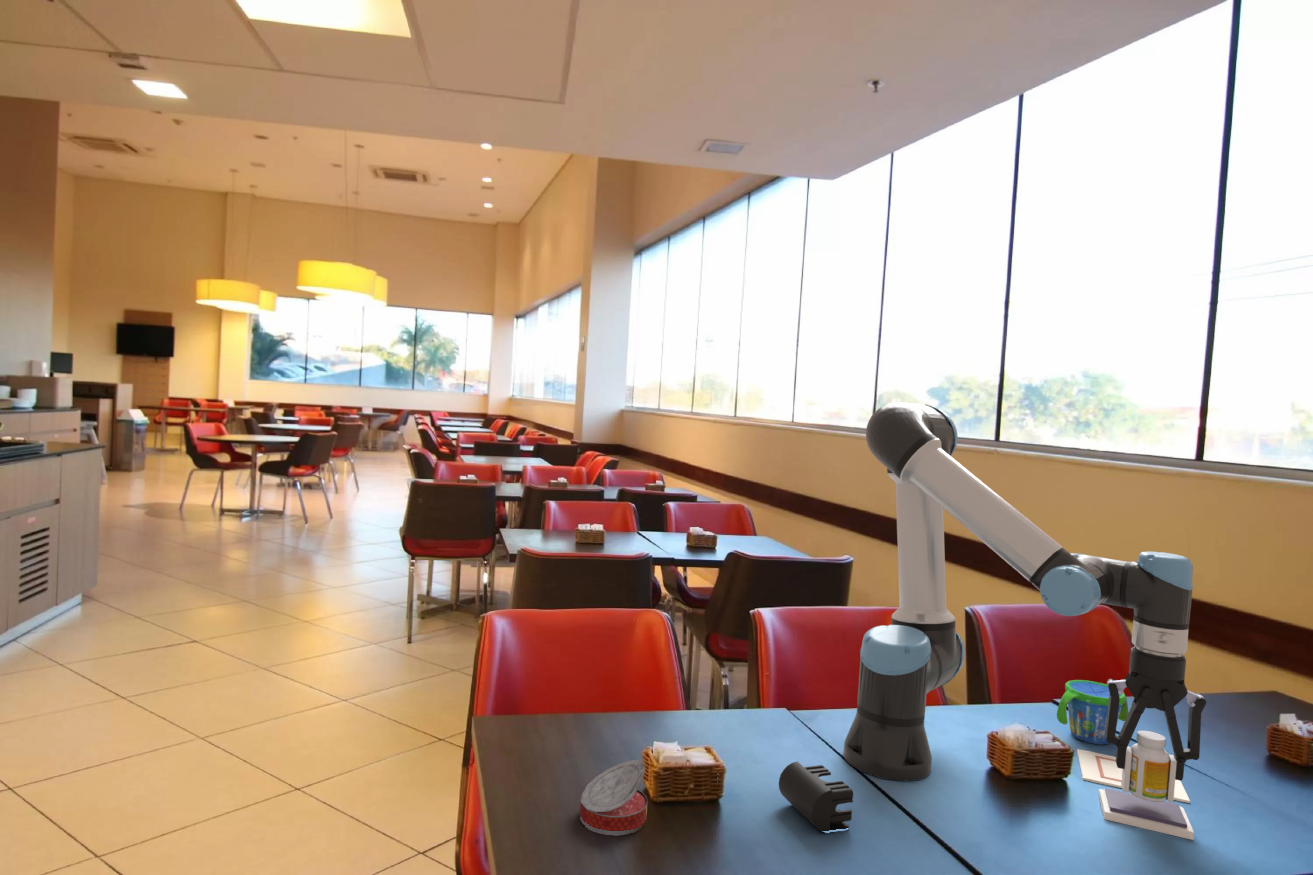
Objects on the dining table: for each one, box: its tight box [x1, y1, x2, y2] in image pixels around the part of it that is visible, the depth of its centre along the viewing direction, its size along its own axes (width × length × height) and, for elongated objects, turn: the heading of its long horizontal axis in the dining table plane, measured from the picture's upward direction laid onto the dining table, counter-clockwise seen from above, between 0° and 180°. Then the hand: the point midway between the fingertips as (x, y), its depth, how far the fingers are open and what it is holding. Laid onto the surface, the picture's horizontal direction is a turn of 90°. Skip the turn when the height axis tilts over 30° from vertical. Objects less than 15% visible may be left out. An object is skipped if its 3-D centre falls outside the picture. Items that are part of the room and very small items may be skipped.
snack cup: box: [1056, 679, 1129, 745], centre depth 161 cm, size 16×10×10 cm
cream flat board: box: [1076, 748, 1191, 804], centre depth 145 cm, size 16×14×1 cm
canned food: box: [579, 759, 649, 831], centre depth 117 cm, size 11×10×10 cm
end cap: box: [778, 761, 854, 832], centre depth 122 cm, size 10×7×7 cm
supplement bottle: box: [1128, 730, 1170, 802], centre depth 129 cm, size 5×5×10 cm
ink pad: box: [1098, 787, 1195, 841], centre depth 129 cm, size 12×9×2 cm
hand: (1146, 792), depth 129 cm, fingers closed on supplement bottle, 5 cm apart
